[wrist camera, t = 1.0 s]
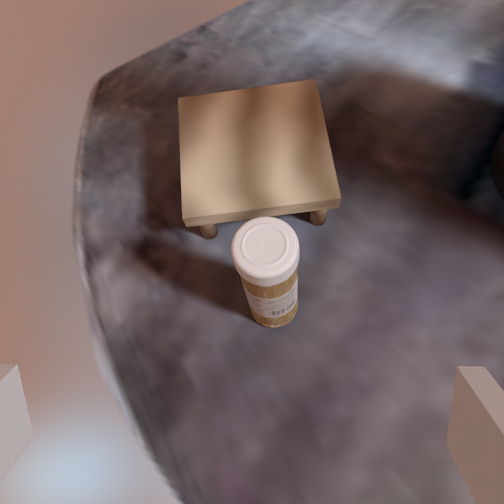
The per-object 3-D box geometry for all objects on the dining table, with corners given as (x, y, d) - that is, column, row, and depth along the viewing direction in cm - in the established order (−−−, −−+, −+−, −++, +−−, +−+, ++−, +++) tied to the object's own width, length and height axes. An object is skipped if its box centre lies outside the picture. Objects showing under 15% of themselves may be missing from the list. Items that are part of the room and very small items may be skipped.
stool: (313, 119, 50) (315, 78, 44) (335, 229, 44) (341, 198, 38) (190, 136, 50) (177, 98, 45) (195, 247, 44) (182, 218, 39)
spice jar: (291, 278, 42) (290, 207, 30) (303, 323, 40) (307, 268, 28) (244, 288, 42) (224, 221, 30) (254, 334, 40) (236, 283, 28)
